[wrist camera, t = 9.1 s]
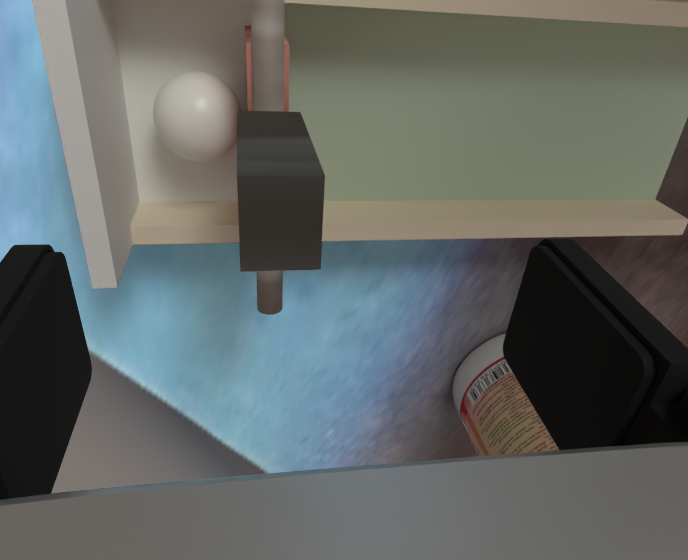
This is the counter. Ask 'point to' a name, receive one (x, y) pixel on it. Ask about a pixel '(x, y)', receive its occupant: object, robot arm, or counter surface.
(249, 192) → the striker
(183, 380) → the counter surface
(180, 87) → the ball
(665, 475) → the robot arm
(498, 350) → the fruit juice
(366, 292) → the counter surface
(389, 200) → the cream long tray
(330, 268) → the counter surface
